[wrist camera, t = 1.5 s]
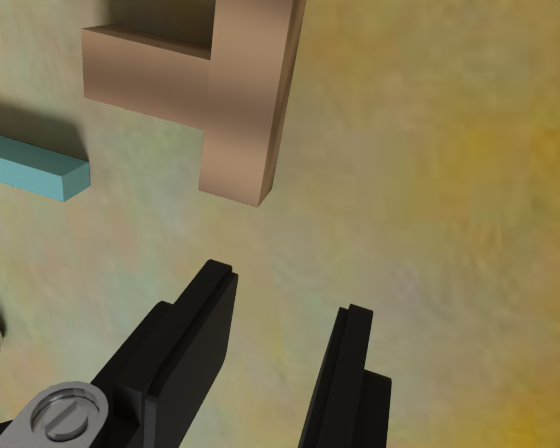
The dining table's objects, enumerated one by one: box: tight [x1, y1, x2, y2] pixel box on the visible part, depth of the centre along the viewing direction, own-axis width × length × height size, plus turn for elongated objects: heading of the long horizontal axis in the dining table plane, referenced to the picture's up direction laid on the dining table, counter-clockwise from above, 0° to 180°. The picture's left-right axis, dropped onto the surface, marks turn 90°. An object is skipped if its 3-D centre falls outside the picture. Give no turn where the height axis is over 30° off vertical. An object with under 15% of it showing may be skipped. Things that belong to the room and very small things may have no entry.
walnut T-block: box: [81, 0, 306, 207], centre depth 28 cm, size 12×12×3 cm
